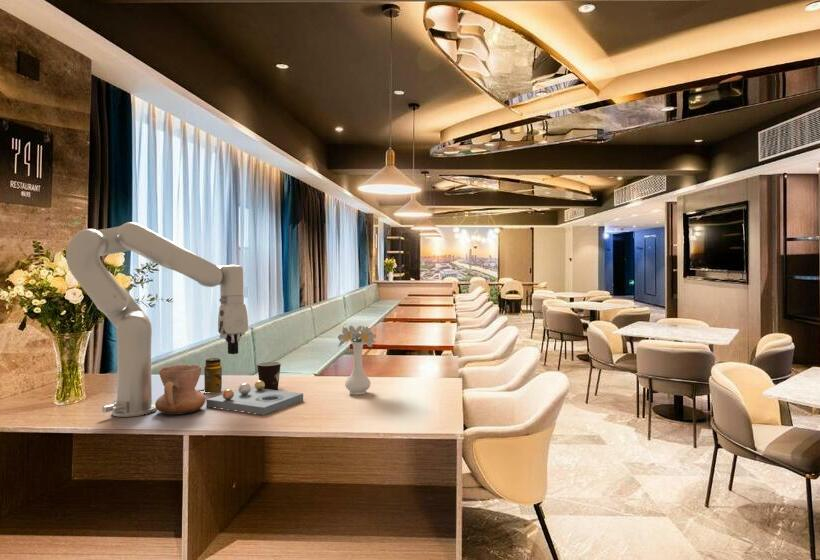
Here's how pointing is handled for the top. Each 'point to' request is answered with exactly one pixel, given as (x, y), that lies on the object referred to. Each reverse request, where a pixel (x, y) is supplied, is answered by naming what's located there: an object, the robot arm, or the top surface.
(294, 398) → the grey flat board
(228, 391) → the copper ball
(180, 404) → the ceramic jug
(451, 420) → the top surface
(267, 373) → the coffee mug
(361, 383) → the flower vase
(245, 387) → the steel ball
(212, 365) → the condiment
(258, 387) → the brass ball
